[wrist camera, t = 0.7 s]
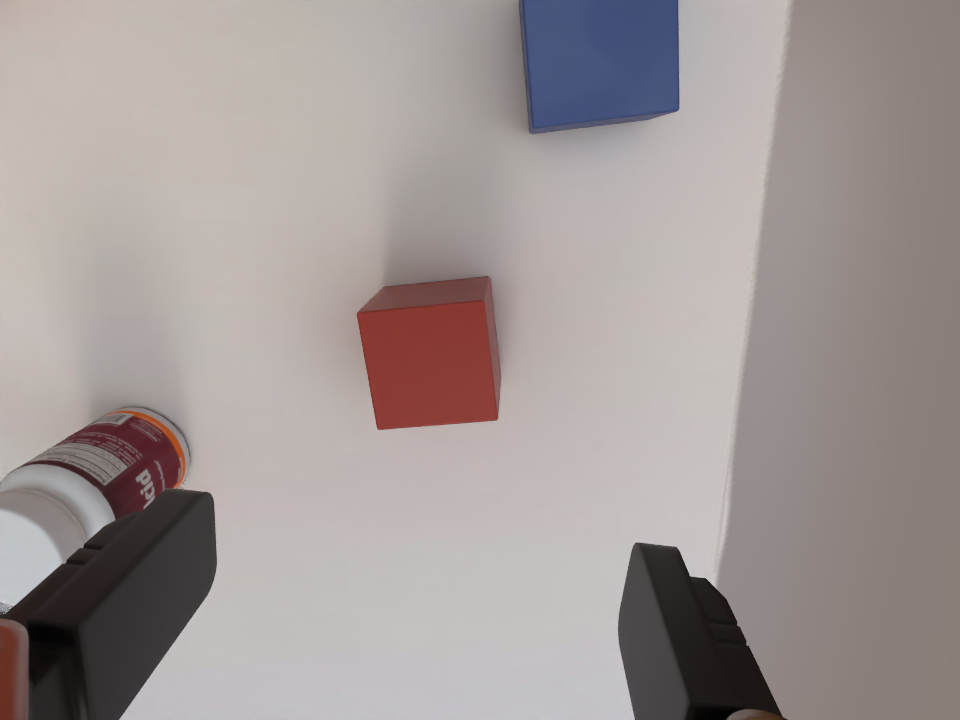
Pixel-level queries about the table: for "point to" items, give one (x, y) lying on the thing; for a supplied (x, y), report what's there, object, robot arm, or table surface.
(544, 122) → the blue block
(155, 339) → the table surface
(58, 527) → the pill bottle
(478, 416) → the red block
